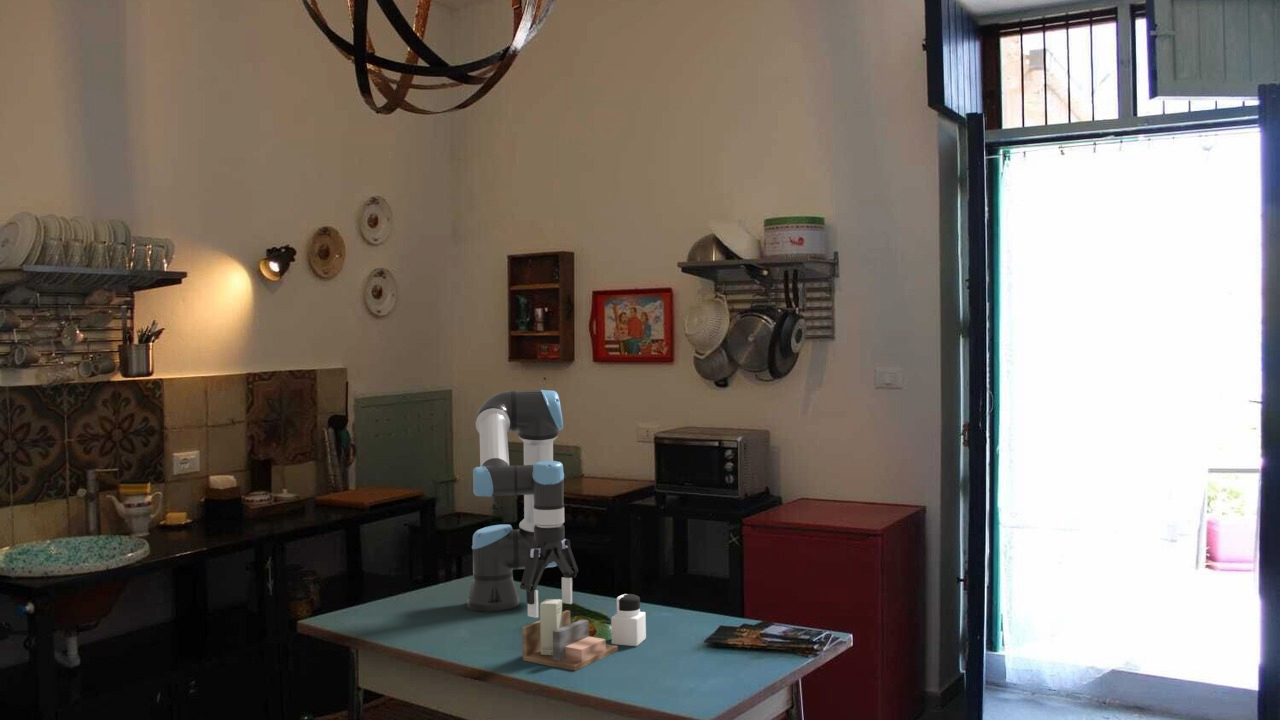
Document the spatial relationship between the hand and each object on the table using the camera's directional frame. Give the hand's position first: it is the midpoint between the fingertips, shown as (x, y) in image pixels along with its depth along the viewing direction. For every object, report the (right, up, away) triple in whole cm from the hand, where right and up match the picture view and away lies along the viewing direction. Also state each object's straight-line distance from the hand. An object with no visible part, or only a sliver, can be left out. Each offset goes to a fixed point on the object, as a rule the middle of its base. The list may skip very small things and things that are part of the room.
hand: (550, 609), depth 253 cm
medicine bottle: (+19, -12, +13) cm, 26 cm away
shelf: (+5, -12, +2) cm, 13 cm away
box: (0, -11, 0) cm, 11 cm away
